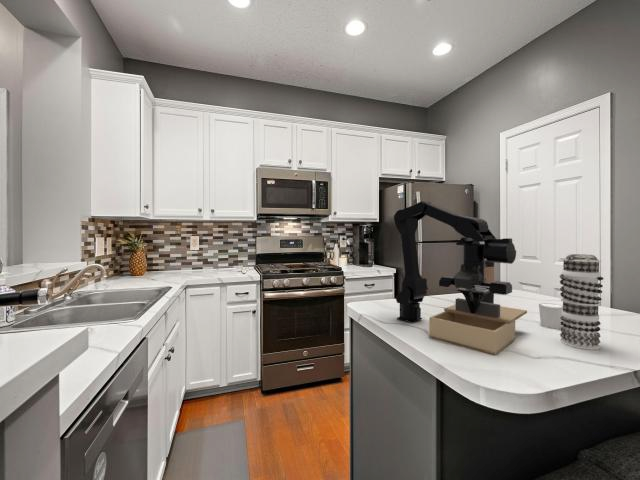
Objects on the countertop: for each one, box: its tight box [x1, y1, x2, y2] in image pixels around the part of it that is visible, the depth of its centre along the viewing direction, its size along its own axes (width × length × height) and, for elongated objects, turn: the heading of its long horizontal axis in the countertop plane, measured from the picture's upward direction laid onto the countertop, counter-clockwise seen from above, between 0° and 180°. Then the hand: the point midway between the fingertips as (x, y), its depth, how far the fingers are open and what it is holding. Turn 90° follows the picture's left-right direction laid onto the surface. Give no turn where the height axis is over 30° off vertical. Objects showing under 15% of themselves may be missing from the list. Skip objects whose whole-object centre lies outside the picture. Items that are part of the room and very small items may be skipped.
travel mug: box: [475, 259, 495, 304], centre depth 123 cm, size 8×8×20 cm
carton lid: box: [443, 297, 528, 324], centre depth 95 cm, size 19×17×4 cm
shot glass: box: [538, 302, 563, 330], centre depth 100 cm, size 7×7×7 cm
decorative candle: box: [559, 253, 604, 351], centre depth 84 cm, size 9×9×25 cm
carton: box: [428, 311, 516, 356], centre depth 89 cm, size 18×16×6 cm
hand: (473, 313), depth 89 cm, fingers closed
